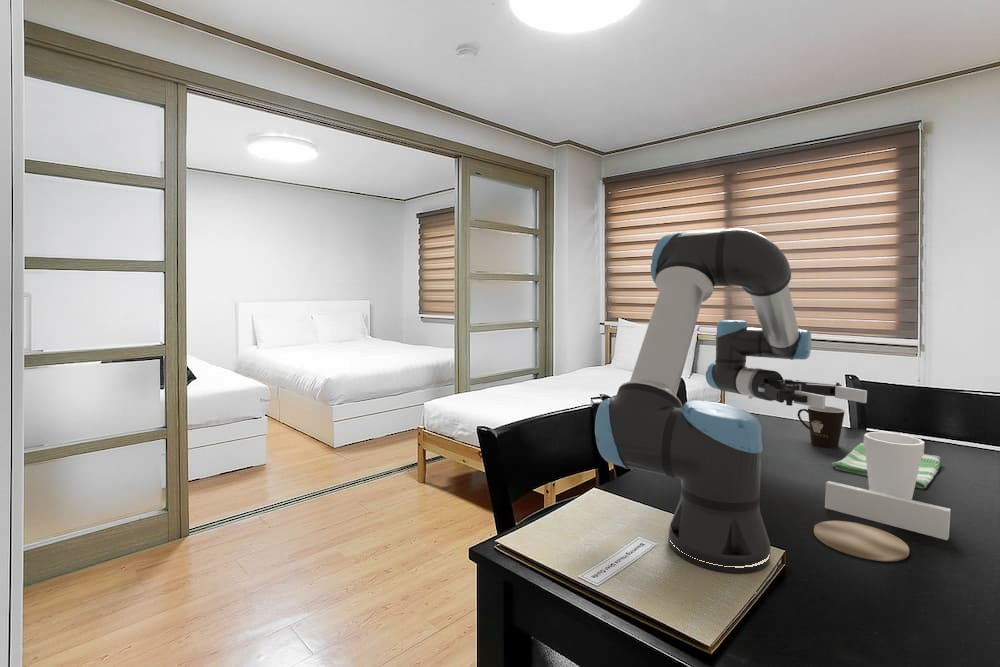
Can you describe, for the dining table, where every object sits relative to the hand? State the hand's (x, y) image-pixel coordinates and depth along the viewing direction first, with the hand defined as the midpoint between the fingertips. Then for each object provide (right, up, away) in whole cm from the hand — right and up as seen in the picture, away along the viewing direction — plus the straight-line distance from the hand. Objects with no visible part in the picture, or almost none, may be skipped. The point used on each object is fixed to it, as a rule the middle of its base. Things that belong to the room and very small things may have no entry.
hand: (845, 399), depth 109 cm
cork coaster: (-14, -21, -24) cm, 35 cm away
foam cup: (+4, -20, -8) cm, 21 cm away
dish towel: (+19, -19, +14) cm, 30 cm away
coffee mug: (+16, -17, +34) cm, 41 cm away
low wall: (-4, -20, -16) cm, 26 cm away
